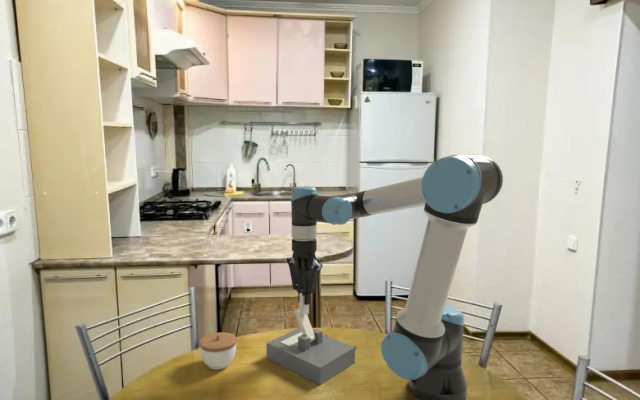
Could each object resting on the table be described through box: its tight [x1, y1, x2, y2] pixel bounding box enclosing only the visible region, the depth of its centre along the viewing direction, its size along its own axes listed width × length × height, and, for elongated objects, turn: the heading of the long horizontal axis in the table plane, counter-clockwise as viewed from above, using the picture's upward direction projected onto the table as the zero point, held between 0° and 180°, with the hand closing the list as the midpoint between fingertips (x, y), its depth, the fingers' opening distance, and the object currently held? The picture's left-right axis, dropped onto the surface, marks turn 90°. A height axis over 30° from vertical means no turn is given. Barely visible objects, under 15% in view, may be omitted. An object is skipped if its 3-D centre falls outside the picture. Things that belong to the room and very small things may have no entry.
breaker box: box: [266, 327, 356, 386], centre depth 129 cm, size 22×16×8 cm
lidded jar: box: [199, 331, 237, 371], centre depth 126 cm, size 11×11×9 cm
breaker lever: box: [290, 302, 316, 342], centre depth 130 cm, size 2×4×12 cm, turn 139°
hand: (304, 313), depth 129 cm, fingers closed
